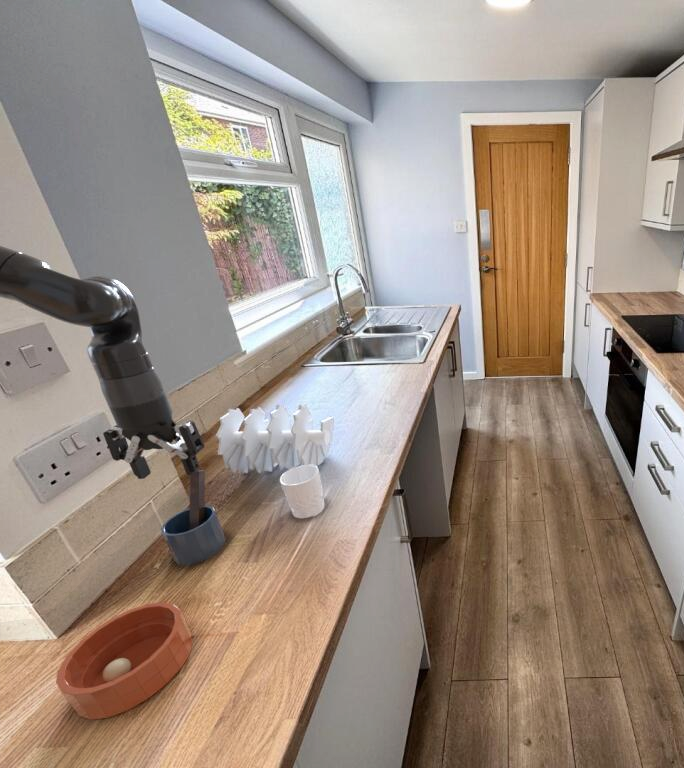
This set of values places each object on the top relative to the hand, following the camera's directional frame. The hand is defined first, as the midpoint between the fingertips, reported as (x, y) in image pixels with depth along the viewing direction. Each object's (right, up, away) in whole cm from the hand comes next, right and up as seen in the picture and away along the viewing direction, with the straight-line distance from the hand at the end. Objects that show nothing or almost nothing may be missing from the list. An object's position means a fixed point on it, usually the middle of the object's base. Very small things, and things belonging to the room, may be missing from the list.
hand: (169, 474), depth 76 cm
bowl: (+8, -26, -15) cm, 31 cm away
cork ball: (+7, -25, -17) cm, 31 cm away
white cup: (+17, -13, +18) cm, 28 cm away
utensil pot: (0, -17, +7) cm, 19 cm away
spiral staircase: (+2, -6, +35) cm, 36 cm away
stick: (+1, -17, +6) cm, 18 cm away
